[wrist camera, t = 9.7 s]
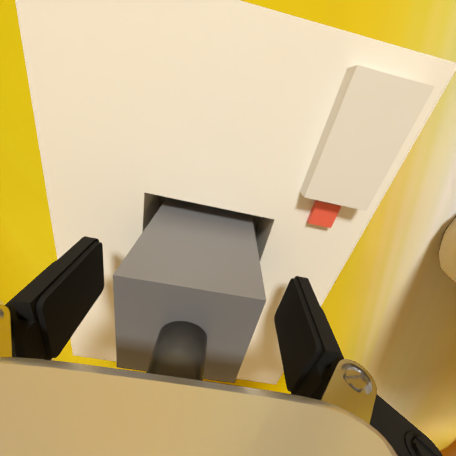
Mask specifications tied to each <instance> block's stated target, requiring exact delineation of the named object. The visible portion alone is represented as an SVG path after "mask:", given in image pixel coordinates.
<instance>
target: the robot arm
mask: <svg viewBox="0 0 456 456" xmlns="http://www.w3.org/2000/svg"><path fill="white" fill-rule="evenodd" d="M103 289H104V266H103V245H102V243H101V242H99V240H98V239H97V238H92V237H86V236H84V237H82V238H81V239H80V240H79V241H78V242H77V243H76V244H75V245H73V246H72V247H71V248H70V249H69V250H68V251H67V252H66V253H64V254H63V255H62V256H61V257H60V258H59V259H58V260H57V261H55V262H53V263H52V264H51V265H50V266H48V267H47V268H46V269H45V270H44V271H43V272H42V273H41V274H39V275H38V276H37V277H36V278H35V279H34V280H33V281H32V282H30V283H29V284H28V285H27V286H26V287H25V288H24V289H23V290H21V291H20V292H19V293H18V294H17V295H16V296H15V297H14V298H12V299H11V300H10V301H9V302H8V303H7V304H6V305H1V304H0V456H442V454H441V452H440V451H439V449H438V448H437V447H436V446H435V444H434V443H433V442H432V441H431V440H430V439H429V438H428V437H427V436H426V435H424V434H423V433H422V432H421V431H420V430H418V429H417V428H416V427H415V426H414V425H413V424H411V423H410V422H409V421H408V420H407V419H405V418H404V417H403V416H402V415H401V414H400V413H398V412H397V411H396V410H395V409H394V408H392V407H391V406H390V405H389V404H388V403H386V402H385V401H384V400H383V399H382V398H381V397H379V396H378V395H377V388H376V384H375V382H374V380H373V378H372V376H371V375H370V374H369V373H368V371H367V370H366V369H365V368H364V367H362V366H361V365H360V364H358V363H357V362H355V361H352V360H349V359H344V357H343V355H342V353H341V351H340V348H339V346H338V344H337V341H336V339H335V337H334V334H333V332H332V330H331V328H330V325H329V323H328V321H327V318H326V316H325V314H324V312H323V310H322V308H321V307H320V305H319V302H318V300H317V298H316V295H315V293H314V291H313V288H312V286H311V284H310V282H309V279H308V278H305V277H300V276H295V277H294V278H291V280H290V282H289V284H288V286H287V288H286V291H285V293H284V295H283V297H282V300H281V302H280V304H279V306H278V308H277V311H276V313H275V316H274V322H275V328H276V333H277V338H278V343H279V349H280V354H281V359H282V364H283V370H284V375H285V380H286V385H287V389H288V391H291V394H286V393H280V392H274V391H268V390H261V389H255V388H248V387H241V386H234V385H227V384H221V383H214V382H207V381H200V380H193V379H186V378H179V377H172V376H165V375H158V374H151V373H143V372H136V371H129V370H121V369H114V368H107V367H99V366H92V365H85V364H77V363H69V362H60V361H52V360H51V359H52V358H56V357H57V356H58V355H59V354H60V352H61V351H62V349H63V348H64V347H65V345H66V344H67V342H68V341H69V339H70V338H71V336H72V335H73V334H74V332H75V331H76V329H77V328H78V326H79V325H80V323H81V322H82V321H83V319H84V318H85V316H86V315H87V313H88V312H89V310H90V309H91V307H92V306H93V305H94V303H95V302H96V300H97V299H98V297H99V296H100V294H101V293H102V291H103Z"/></svg>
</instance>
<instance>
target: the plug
mask: <svg viewBox="0 0 456 456" xmlns="http://www.w3.org/2000/svg"><path fill="white" fill-rule="evenodd" d="M113 292H114V314H115V337H116V360H117V367H119V368H127V369H134V370H142V371H147V372H146V373H151V374H158V375H165V376H172V377H179V378H186V379H193V380H200V381H203V379H209V380H216V381H224V382H231V383H235V380H236V378H237V375H238V372H239V370H240V367H241V365H242V362H243V359H244V357H245V354H246V352H247V349H248V346H249V344H250V341H251V339H252V336H253V334H254V331H255V328H256V326H257V323H258V321H259V318H260V315H261V313H262V310H263V308H264V305H265V303H266V295H265V289H264V284H263V278H262V272H261V266H260V260H259V254H258V248H257V243H256V237H255V231H254V225H253V219H252V215H250V214H245V213H241V212H236V211H231V210H226V209H221V208H217V207H212V206H207V205H202V204H197V203H193V202H188V201H183V200H178V199H173V198H168V197H167V198H166V200H165V201H164V202H163V204H162V205H161V207H160V208H159V210H158V211H157V212H156V214H155V215H154V217H153V218H152V220H151V221H150V222H149V224H148V225H147V227H146V228H145V230H144V231H143V232H142V234H141V235H140V237H139V238H138V240H137V241H136V243H135V244H134V245H133V247H132V248H131V250H130V251H129V253H128V254H127V255H126V257H125V258H124V260H123V261H122V263H121V264H120V265H119V267H118V268H117V270H116V271H115V273H114V274H113Z"/></svg>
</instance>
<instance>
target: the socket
mask: <svg viewBox="0 0 456 456" xmlns="http://www.w3.org/2000/svg"><path fill="white" fill-rule="evenodd" d="M15 2H16V8H17V14H18V20H19V26H20V32H21V38H22V44H23V51H24V57H25V63H26V69H27V75H28V81H29V87H30V93H31V100H32V106H33V112H34V118H35V124H36V130H37V136H38V142H39V148H40V155H41V161H42V167H43V173H44V179H45V185H46V191H47V197H48V204H49V210H50V216H51V222H52V228H53V234H54V240H55V246H56V252H57V259H59V258H60V257H61V256H62V255H63V254H64V253H66V252H67V251H68V250H69V249H70V248H71V247H72V246H73V245H75V244H76V243H77V242H78V241H79V240H80V239H81V238H82V237H84V236H86V237H92V238H97V239H98V240H99V242H101V243H102V245H103V266H104V289H103V291H102V293H101V294H100V296H99V297H98V299H97V300H96V302H95V303H94V305H93V306H92V307H91V309H90V310H89V312H88V313H87V315H86V316H85V318H84V319H83V321H82V322H81V323H80V325H79V326H78V328H77V329H76V331H75V332H74V334H73V335H72V336H71V344H72V350H73V355H75V356H82V357H89V358H96V359H103V360H110V361H117V360H116V337H115V314H114V292H113V274H114V273H115V271H116V270H117V268H118V267H119V265H120V264H121V263H122V261H123V260H124V258H125V257H126V255H127V254H128V253H129V251H130V250H131V248H132V247H133V245H134V244H135V243H136V241H137V240H138V238H139V237H140V235H141V234H142V232H143V231H144V230H145V228H146V227H147V225H148V224H149V222H150V221H151V220H152V218H153V217H154V215H155V214H156V212H157V211H158V210H159V208H160V207H161V205H162V204H163V202H164V201H165V200H166V198H167V197H168V198H173V199H178V200H183V201H188V202H193V203H197V204H202V205H207V206H212V207H217V208H221V209H226V210H231V211H236V212H241V213H245V214H250V215H252V219H253V225H254V231H255V237H256V243H257V248H258V254H259V260H260V266H261V272H262V278H263V284H264V289H265V295H266V303H265V305H264V308H263V310H262V313H261V315H260V318H259V321H258V323H257V326H256V328H255V331H254V334H253V336H252V339H251V341H250V344H249V346H248V349H247V352H246V354H245V357H244V359H243V362H242V365H241V367H240V370H239V372H238V375H237V378H236V379H242V380H249V381H256V382H262V383H269V384H277V382H278V380H279V379H280V377H281V375H282V373H283V372H284V370H283V364H282V359H281V354H280V349H279V343H278V338H277V333H276V328H275V322H274V316H275V313H276V311H277V308H278V306H279V304H280V302H281V300H282V297H283V295H284V293H285V291H286V288H287V286H288V284H289V282H290V280H291V278H294V277H295V276H300V277H305V278H308V279H309V282H310V284H311V286H312V288H313V291H314V293H315V295H316V298H317V300H318V302H319V305H320V307H321V305H322V303H323V302H324V300H325V298H326V296H327V295H328V293H329V291H330V289H331V288H332V286H333V284H334V282H335V281H336V279H337V277H338V275H339V274H340V272H341V270H342V268H343V267H344V265H345V263H346V261H347V260H348V258H349V256H350V254H351V253H352V251H353V249H354V247H355V246H356V244H357V242H358V240H359V239H360V237H361V235H362V233H363V232H364V230H365V228H366V226H367V225H368V223H369V221H370V219H371V218H372V216H373V214H374V212H375V211H376V209H377V207H378V205H379V204H380V202H381V200H382V198H383V197H384V195H385V193H386V191H387V190H388V188H389V186H390V184H391V183H392V181H393V179H394V177H395V176H396V174H397V172H398V170H399V169H400V167H401V165H402V163H403V162H404V160H405V158H406V156H407V155H408V153H409V151H410V149H411V148H412V146H413V144H414V142H415V141H416V139H417V137H418V135H419V134H420V132H421V130H422V128H423V127H424V125H425V123H426V121H427V120H428V118H429V116H430V114H431V113H432V111H433V109H434V108H435V106H436V104H437V102H438V101H439V99H440V97H441V95H442V94H443V92H444V90H445V88H446V87H447V85H448V83H449V81H450V80H451V78H452V76H453V74H454V73H455V71H456V63H455V62H451V61H448V60H445V59H441V58H438V57H434V56H431V55H427V54H424V53H420V52H417V51H413V50H410V49H406V48H403V47H400V46H396V45H393V44H389V43H386V42H382V41H379V40H375V39H372V38H368V37H365V36H361V35H358V34H354V33H351V32H348V31H344V30H341V29H337V28H334V27H330V26H327V25H323V24H320V23H316V22H313V21H309V20H306V19H302V18H299V17H296V16H292V15H289V14H285V13H282V12H278V11H275V10H271V9H268V8H264V7H261V6H257V5H254V4H251V3H247V2H244V1H240V0H15Z"/></svg>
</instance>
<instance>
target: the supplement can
mask: <svg viewBox="0 0 456 456" xmlns="http://www.w3.org/2000/svg"><path fill="white" fill-rule="evenodd" d="M439 260H440V267H441V269H442V270H443V271H444V272H445V273H446V274H447V276H448V277H449V278H450V279H452V280H453V281H454V282H455V283H456V217H455V218H454V220H453V221H452V222H451V224H450V225H449V226H448V228H447V229H446V230H445V232H444V235H443V238H442V241H441V244H440V250H439Z"/></svg>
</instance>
